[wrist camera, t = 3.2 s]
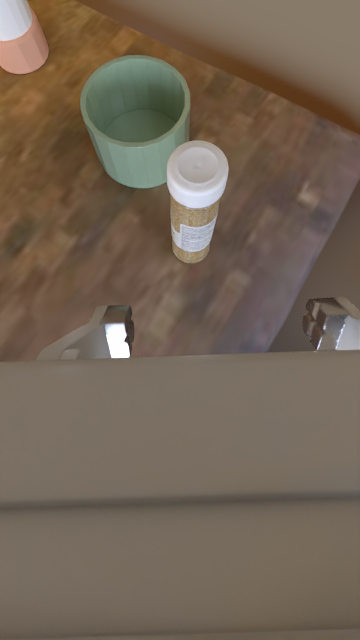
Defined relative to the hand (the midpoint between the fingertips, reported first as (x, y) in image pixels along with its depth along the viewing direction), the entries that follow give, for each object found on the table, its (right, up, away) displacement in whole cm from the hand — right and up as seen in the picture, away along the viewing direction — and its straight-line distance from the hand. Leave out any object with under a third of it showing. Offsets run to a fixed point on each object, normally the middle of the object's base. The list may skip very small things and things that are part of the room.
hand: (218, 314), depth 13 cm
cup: (-6, +22, +23) cm, 32 cm away
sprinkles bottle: (0, +8, +20) cm, 22 cm away
